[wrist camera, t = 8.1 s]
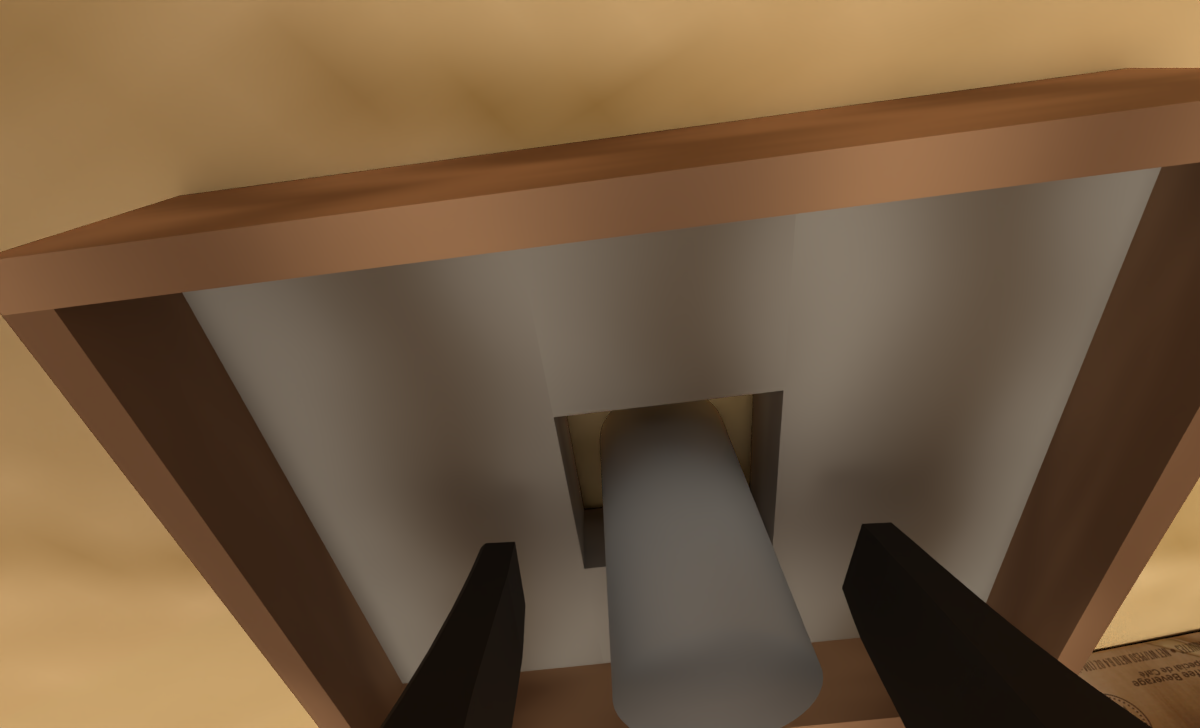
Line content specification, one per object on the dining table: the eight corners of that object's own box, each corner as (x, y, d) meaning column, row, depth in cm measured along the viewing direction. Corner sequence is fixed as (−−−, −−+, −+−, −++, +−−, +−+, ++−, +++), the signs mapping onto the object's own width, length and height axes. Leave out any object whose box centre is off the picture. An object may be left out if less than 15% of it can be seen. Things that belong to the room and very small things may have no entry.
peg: (597, 485, 16) (606, 746, 10) (602, 385, 14) (619, 629, 8) (713, 486, 16) (795, 745, 10) (734, 388, 14) (849, 629, 8)
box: (406, 636, 19) (360, 782, 15) (179, 195, 11) (-38, 263, 7) (953, 579, 18) (1052, 716, 15) (1127, 68, 10) (1449, 67, 7)
